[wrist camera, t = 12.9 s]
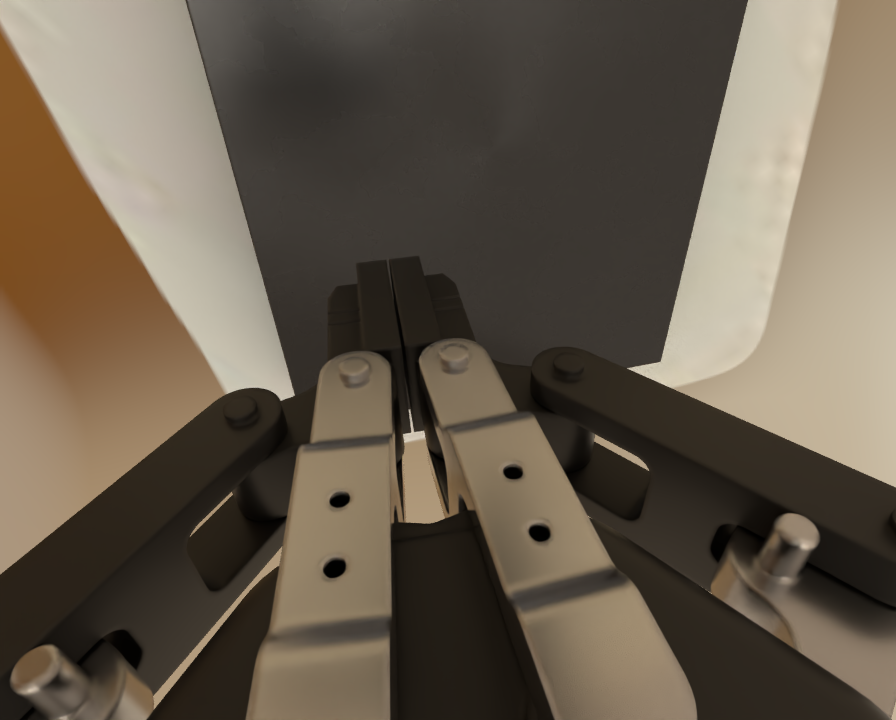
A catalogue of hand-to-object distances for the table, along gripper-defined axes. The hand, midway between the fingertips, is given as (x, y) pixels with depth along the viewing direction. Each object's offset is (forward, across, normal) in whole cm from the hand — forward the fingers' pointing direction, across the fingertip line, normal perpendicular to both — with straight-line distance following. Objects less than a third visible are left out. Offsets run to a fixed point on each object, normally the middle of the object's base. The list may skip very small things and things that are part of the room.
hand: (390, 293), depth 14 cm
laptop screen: (+11, -5, 0) cm, 12 cm away
